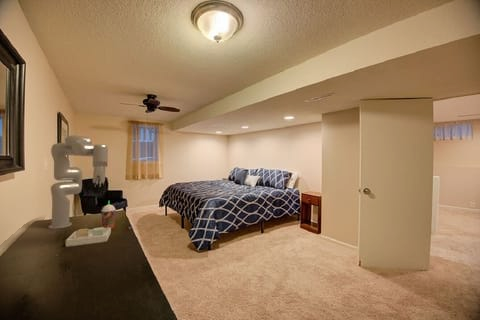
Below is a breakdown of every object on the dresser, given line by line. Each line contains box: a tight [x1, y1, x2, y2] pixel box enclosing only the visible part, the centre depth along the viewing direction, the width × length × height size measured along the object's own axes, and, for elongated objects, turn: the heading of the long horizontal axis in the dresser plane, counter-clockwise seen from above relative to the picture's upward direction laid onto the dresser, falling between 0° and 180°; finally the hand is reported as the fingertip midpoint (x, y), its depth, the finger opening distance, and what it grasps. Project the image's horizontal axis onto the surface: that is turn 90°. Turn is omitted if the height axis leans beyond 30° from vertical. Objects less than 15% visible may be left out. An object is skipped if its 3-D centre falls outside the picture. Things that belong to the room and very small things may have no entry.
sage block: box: [92, 226, 104, 237], centre depth 123 cm, size 5×5×5 cm
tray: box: [65, 228, 112, 248], centre depth 121 cm, size 16×19×4 cm
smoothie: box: [101, 200, 117, 231], centre depth 139 cm, size 8×8×20 cm
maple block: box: [76, 228, 90, 239], centre depth 120 cm, size 5×5×5 cm
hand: (99, 192), depth 124 cm, fingers open, 9 cm apart
